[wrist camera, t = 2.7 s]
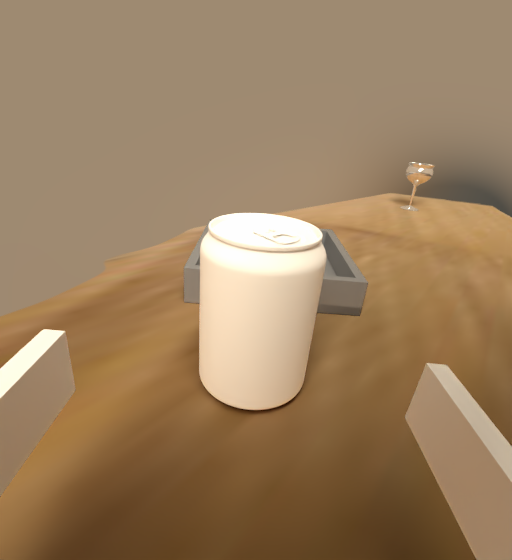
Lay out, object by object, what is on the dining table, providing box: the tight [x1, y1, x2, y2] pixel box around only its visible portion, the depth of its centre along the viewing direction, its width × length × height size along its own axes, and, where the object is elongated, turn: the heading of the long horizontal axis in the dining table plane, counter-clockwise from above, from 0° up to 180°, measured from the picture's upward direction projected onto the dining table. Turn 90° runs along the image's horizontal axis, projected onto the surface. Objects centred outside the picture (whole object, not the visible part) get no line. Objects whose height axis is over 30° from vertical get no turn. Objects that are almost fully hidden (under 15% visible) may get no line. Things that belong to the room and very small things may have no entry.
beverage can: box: [199, 213, 327, 410], centre depth 23 cm, size 8×8×12 cm
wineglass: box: [400, 162, 435, 211], centre depth 90 cm, size 7×7×12 cm
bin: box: [184, 220, 368, 316], centre depth 43 cm, size 19×19×4 cm
